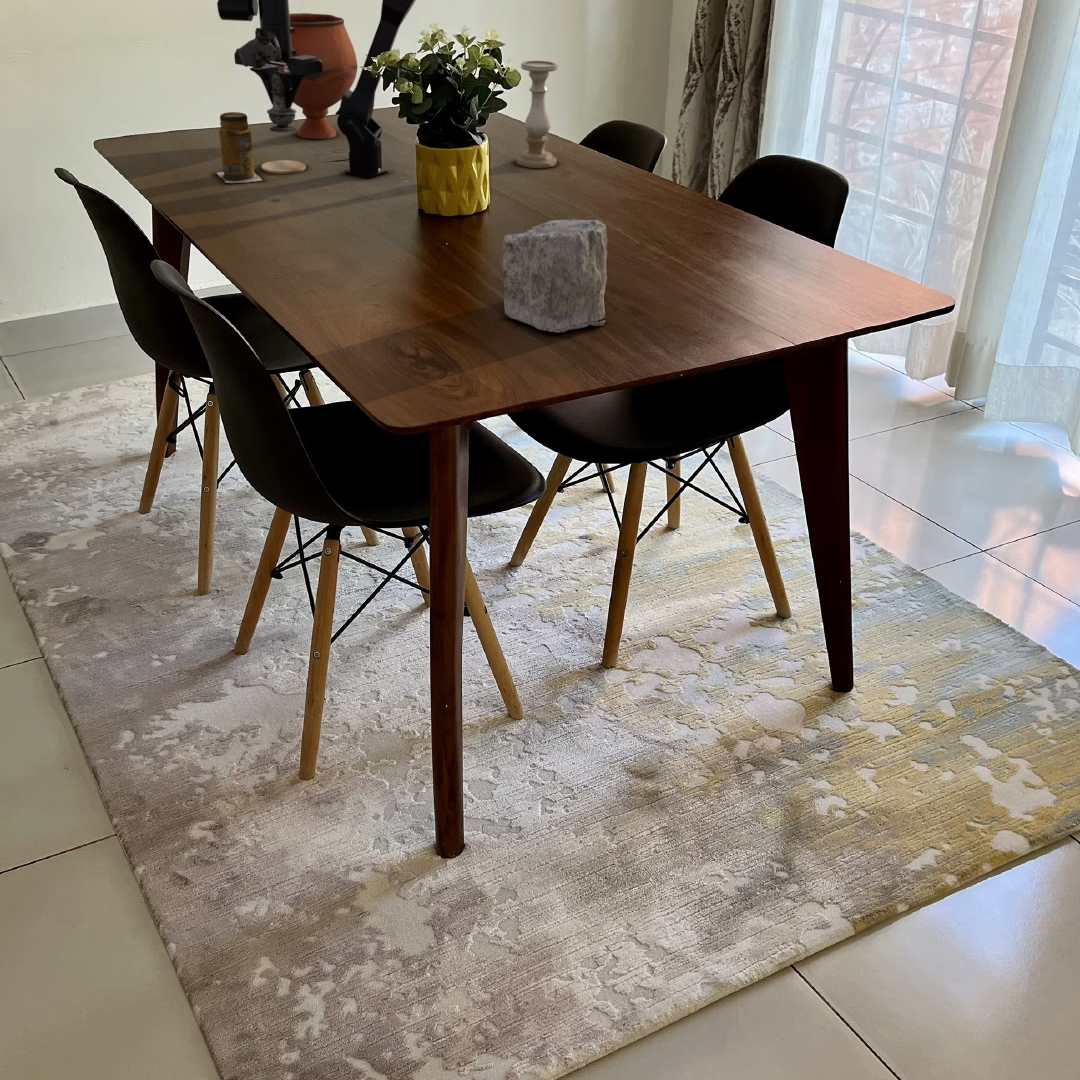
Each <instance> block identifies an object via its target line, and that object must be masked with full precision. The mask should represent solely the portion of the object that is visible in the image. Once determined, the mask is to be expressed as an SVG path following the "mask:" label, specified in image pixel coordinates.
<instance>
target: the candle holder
mask: <svg viewBox="0 0 1080 1080" xmlns="http://www.w3.org/2000/svg"><path fill="white" fill-rule="evenodd" d="M520 68H521V69H522V70H523V71H528V76H529V78H530V79H531V81H532V82H531V86H530V87H529V92H531V101H530V102H531V104H530V109H529V111H528V114H527V116H526V118H525V121H524V129H525V131H526V133H527V134H528V135H527V136H526V137H525V141H526V142H527V145H528V149H526V150H522V151H521V153H520V155H517V156H516V157H515V163H516V164H517V165H518V166H520V167H525V168H529V169H530V168H531V169H532V168H533V169H546V168H553V167H555V166H556V165H557V163H558V162H557V160H558V159H557V158H556V157H555V156H553V154H552V152H550V151H548V150H546V149H545V147H546V144H547V143H548V141H549V138H548V137H547V136H546V135H547V134H548V133H549V131H550V128H551V121H550V118H549V116H548V113H547V110H546V93H547V92H548V91H549V90H548V88H547V86H546V81H547V80H548V78H550V72H554V71H557V70H558V69H559V67H558V63H556V62H553V61H547V60H525V61H522V62H521V63H520Z"/></svg>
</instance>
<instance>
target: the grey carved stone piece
mask: <svg viewBox="0 0 1080 1080" xmlns="http://www.w3.org/2000/svg"><path fill="white" fill-rule="evenodd" d="M277 73H282V72H281V71H280V68H279V67H278V68H277V71H276V72H274V73H273V74H272V87H273V90H272V91H271V92H272V93H273V105H272V107H271V108H270V109H267V110H266V113H267V114H268V118H269V120H270V121H271V122H272V124H274V125H272V127H270V128H269V131H271V132H272V133H283V134H285V133H286V134H287V133H292V132H295V131H297V127H295V126H294V125H291V124H293V122H294V121H295V119H296V113H297V110H296V109H294V108H292V106H291V107H290V108H286V105H285V100H284V91H283V82H282V80H281V78H280V77H279V76H278V74H277Z"/></svg>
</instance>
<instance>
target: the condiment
mask: <svg viewBox="0 0 1080 1080" xmlns="http://www.w3.org/2000/svg"><path fill="white" fill-rule="evenodd" d="M248 119H249V118H248V115H247V114H246V113H244V112H238V111H231V112H229V111H227V112H223V113H221V114H220V115H219V121H220V123H219V124H220V125H219V126H220V128H219V131H218V132H219V134H218V135H219V143H220V154H221V163H222V171H220V172H219V171H218V172H216V174H217V175H218V176H219V178H220V179H222V180H223V182H225V183H226V184H236V183H237V184H238V183H239V184H240V183H251V182H260V181H263V179H262V177H260V176H259V175H258V174H256V172H255V164H254V157H253V156H254V155H253V145H252V133H251V129H250V127H249V122H248Z"/></svg>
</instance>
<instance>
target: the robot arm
mask: <svg viewBox="0 0 1080 1080" xmlns="http://www.w3.org/2000/svg"><path fill="white" fill-rule="evenodd" d="M416 1H417V0H382V1H381V9H380V18H379V19H380V20H379V22H378V25H377V28H376V31H375V34H374V36H373V39H372V42H371V44H370V47H369V50H368V52H367V56H366V57H365V60H364V63H363V66H362V69H361V72H360V73H359V77H358V80H357V82H356V85H355V88H354V89H353V91H352V90H351V89H350V90H349V89H348V90H347V91H346V92H345V93H344V94H343V95H342V99H341V100H340V105H339V108H338V110H337V111H336V112H335V116H336V115H337V119H336V125H337V127H338V129H339V131H340V132H341V134H342V135H344V136H345V137H346V140H347V142H348V145H349V146H348V147H349V149H348V150H349V151H348V165H349V168H348V169H345V170H344V173H345V174H347V175H352V176H357V177H361V178H364V179H371V178H374V177H377V176H382V175H385V174H388V173H389V170H388V169H385V168H383V161H382V141H381V140H379V139H380V138H381V136H382V132H383V127H382V126H381V125H380V124H379V123H378V122H377V121H376V120H375V119H374V118H373V112H374V108H375V99H376V98H375V97H376V91H377V88H378V85H379V83H380V80H381V78H382V75H378V76H377V77H375V78H372V73H371V71H368V70H364V69H363V67H368V66H371V65H372V63H373V60H372V58H371V57H377V56H378V55H380V54H381V53H383V52H386V51H390V52H391V51H392V49H393V46H394V43H395V41H396V38H397V35H398V32H399V30H400V27H401V25H402V23H403V22H404V20H405V19H406V17H407V15H408V14H409V13H410V11H411V10H412V7H413V6H414V5H415V2H416ZM216 5H217V7H216V8H217V13H218V16H219V18H220V20H221V21H232V22H233V21H235V22H236V21H237V22H252V21H253V19H254V17H257V16H258V15H259V17H258V18H259V27H255V31H254V38H253V39H250V40H248V41H246V43H245V44H243V45H242V46H241V47H239V48H236V50H235V52H234V54H233V55H234V64H235V65H239V66H243V67H246V68H247V67H250V68H249V70H250V71H251V72H253V73H255V74H256V75H257V76H258V77H259V79H260V80H261V82H262V84H263V86H264V88H265V91H266V93H267V96H268V98H269V100H270V103H271V105H272V106H273V93H272V92H271V91H272V90H273V87H272V74H273V73H274V72H276V71H277V68H278V67H279V68H280V66H283V67H285V69H284V72H282V73H277V74H278V76H279V77H280V78H281V80H282V82H283V91H284V100H285V105H286V108H290V107H291V108H292V107H293V106H292V105H293V104H294V103H293V101H294V98H295V95H296V93H297V90H298V87H299V85H300V83H301V81H302V79H303V77H304V76H305V75H310V74H315V73H320V72H323V68H322V61H321V59H320V58H319V57H316V56H310V55H302V56H297V52H296V50H292V44H291V34H294V33H295V28H293V27H290V16H289V14H290V5H289V0H217V2H216ZM292 56H297V57H292ZM282 61H284V62H282Z"/></svg>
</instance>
